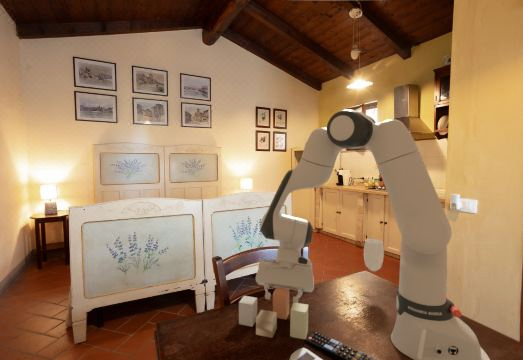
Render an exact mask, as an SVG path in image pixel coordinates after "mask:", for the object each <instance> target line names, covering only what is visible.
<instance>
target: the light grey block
mask: <svg viewBox="0 0 523 360" xmlns="http://www.w3.org/2000/svg"><path fill="white" fill-rule="evenodd" d="M257 316H258V297H254V296H248V295H243V296H242V298H241V299H240V300H239V301H238V325H241V326H247V327H253V326H254V325H255V324H256V317H257Z"/></svg>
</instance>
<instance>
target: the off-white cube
mask: <svg viewBox="0 0 523 360" xmlns="http://www.w3.org/2000/svg"><path fill="white" fill-rule="evenodd" d="M277 320H278V318H277V312H273V310H272V311H271V310H266V309H260V311H259V313H257V317H256V322H255V335H257V336H261V337H266V338H270V339H271V338H273V337H274V336H275V333H276V330H277V329H278V321H277Z"/></svg>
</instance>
